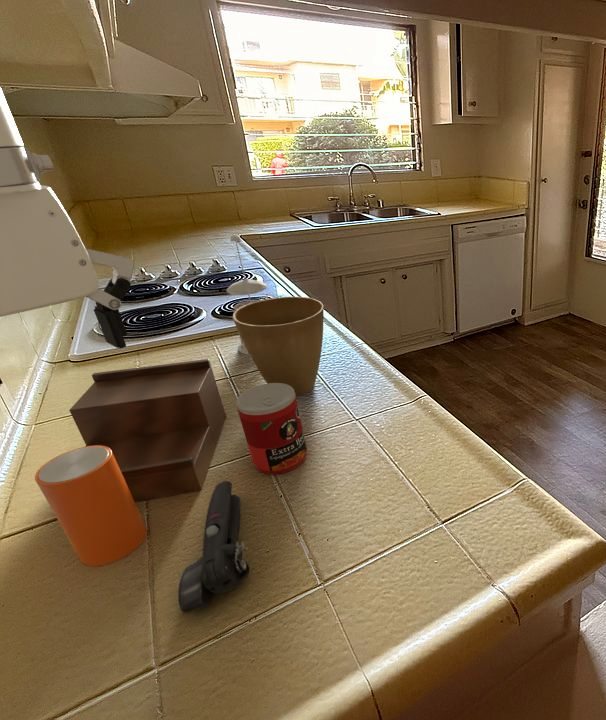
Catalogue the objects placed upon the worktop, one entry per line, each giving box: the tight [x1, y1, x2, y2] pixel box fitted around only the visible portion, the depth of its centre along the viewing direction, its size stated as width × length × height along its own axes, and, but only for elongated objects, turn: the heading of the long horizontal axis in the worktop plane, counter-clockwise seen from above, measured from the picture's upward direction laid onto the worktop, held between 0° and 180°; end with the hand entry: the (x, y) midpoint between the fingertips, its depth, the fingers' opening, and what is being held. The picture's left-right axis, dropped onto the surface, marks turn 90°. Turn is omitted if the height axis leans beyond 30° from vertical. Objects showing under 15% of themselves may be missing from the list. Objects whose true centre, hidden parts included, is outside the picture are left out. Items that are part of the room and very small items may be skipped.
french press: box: [225, 234, 276, 355], centre depth 101 cm, size 10×12×25 cm
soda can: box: [34, 445, 148, 567], centre depth 53 cm, size 7×7×12 cm
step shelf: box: [68, 358, 227, 503], centre depth 67 cm, size 16×19×11 cm
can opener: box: [177, 480, 251, 614], centre depth 53 cm, size 18×7×6 cm, turn 20°
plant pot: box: [232, 296, 324, 397], centre depth 85 cm, size 15×15×16 cm
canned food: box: [235, 383, 308, 475], centre depth 67 cm, size 8×8×11 cm
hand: (60, 362), depth 45 cm, fingers open, 9 cm apart
